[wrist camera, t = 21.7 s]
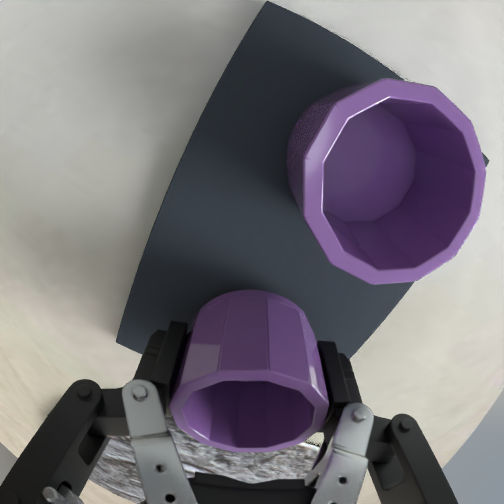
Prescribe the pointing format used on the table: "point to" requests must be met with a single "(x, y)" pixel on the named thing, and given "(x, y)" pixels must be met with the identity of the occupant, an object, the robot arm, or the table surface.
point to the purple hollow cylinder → (387, 178)
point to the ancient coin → (201, 463)
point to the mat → (256, 195)
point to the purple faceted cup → (250, 375)
